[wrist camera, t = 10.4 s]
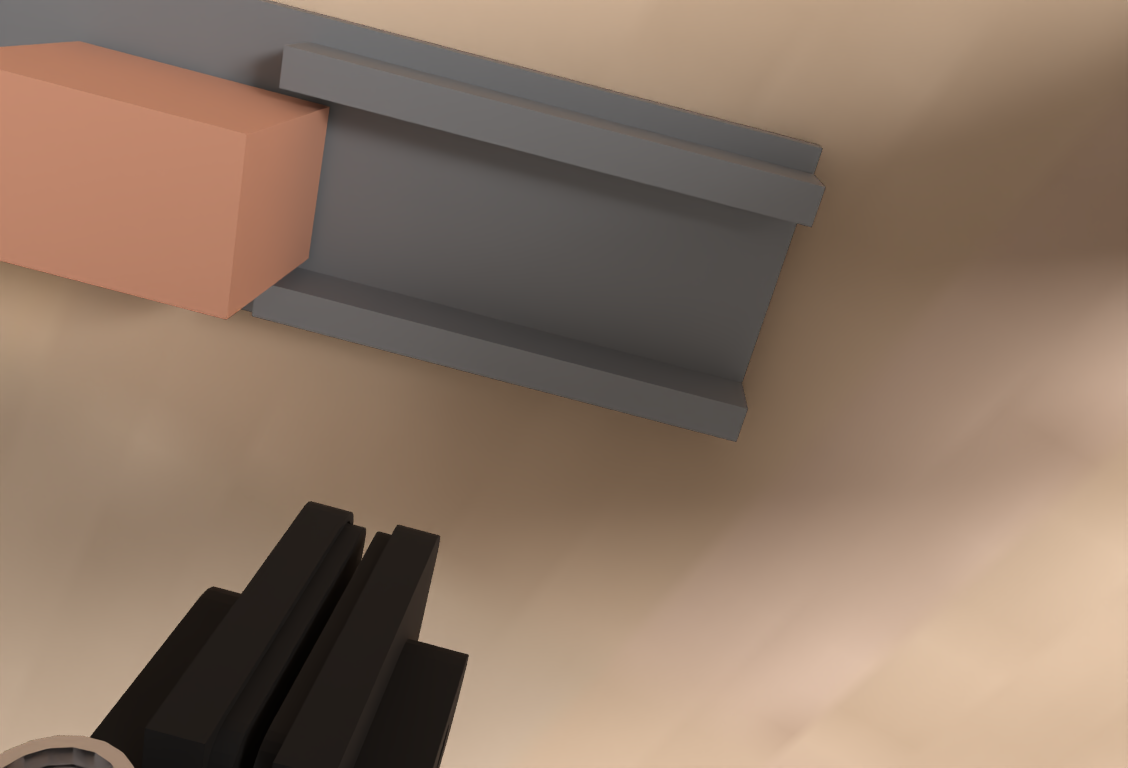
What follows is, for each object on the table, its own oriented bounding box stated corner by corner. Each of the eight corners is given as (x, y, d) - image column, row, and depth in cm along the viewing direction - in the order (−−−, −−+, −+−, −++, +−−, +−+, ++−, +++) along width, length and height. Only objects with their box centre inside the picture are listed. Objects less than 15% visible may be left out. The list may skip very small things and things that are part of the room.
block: (329, 106, 30) (246, 134, 24) (308, 258, 32) (226, 319, 25) (79, 41, 30) (-68, 51, 24) (73, 197, 31) (-64, 243, 25)
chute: (818, 144, 30) (835, 159, 27) (722, 425, 34) (728, 463, 31) (-54, -85, 30) (-127, -93, 27) (-50, 224, 33) (-114, 244, 31)
